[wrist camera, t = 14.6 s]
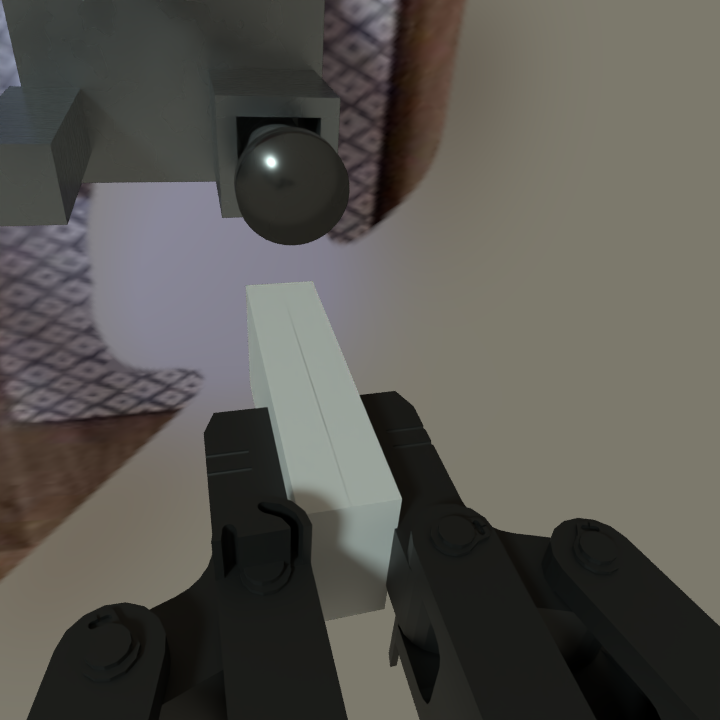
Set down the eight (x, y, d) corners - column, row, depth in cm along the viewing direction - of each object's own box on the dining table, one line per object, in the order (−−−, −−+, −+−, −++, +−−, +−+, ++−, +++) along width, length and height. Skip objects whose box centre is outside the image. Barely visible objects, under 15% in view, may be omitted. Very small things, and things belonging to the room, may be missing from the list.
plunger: (223, 172, 31) (238, 247, 24) (218, 80, 29) (233, 133, 22) (307, 172, 32) (346, 243, 25) (310, 83, 30) (353, 134, 23)
